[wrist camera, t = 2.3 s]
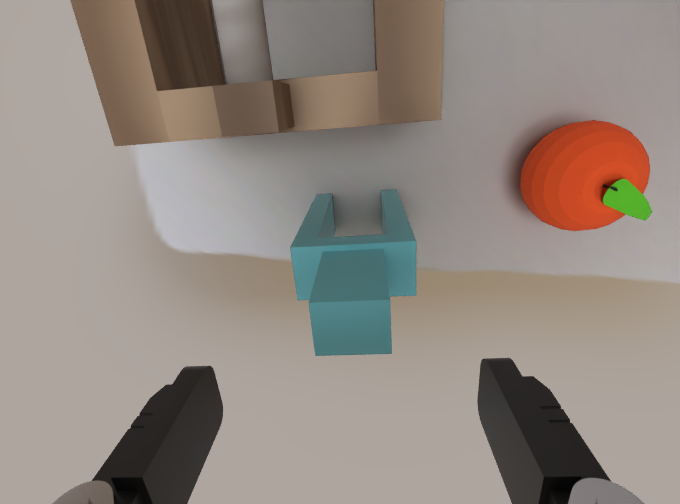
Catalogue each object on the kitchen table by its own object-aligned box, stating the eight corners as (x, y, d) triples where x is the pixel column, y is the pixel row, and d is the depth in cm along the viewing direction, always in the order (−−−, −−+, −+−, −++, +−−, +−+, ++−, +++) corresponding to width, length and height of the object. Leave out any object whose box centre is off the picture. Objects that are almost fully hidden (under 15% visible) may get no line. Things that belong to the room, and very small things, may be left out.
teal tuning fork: (396, 189, 28) (435, 290, 13) (397, 226, 29) (433, 358, 14) (316, 194, 28) (265, 297, 13) (320, 230, 30) (276, 363, 15)
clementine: (637, 158, 26) (729, 177, 19) (567, 236, 29) (628, 276, 22) (549, 98, 25) (616, 96, 18) (485, 184, 27) (523, 210, 21)
